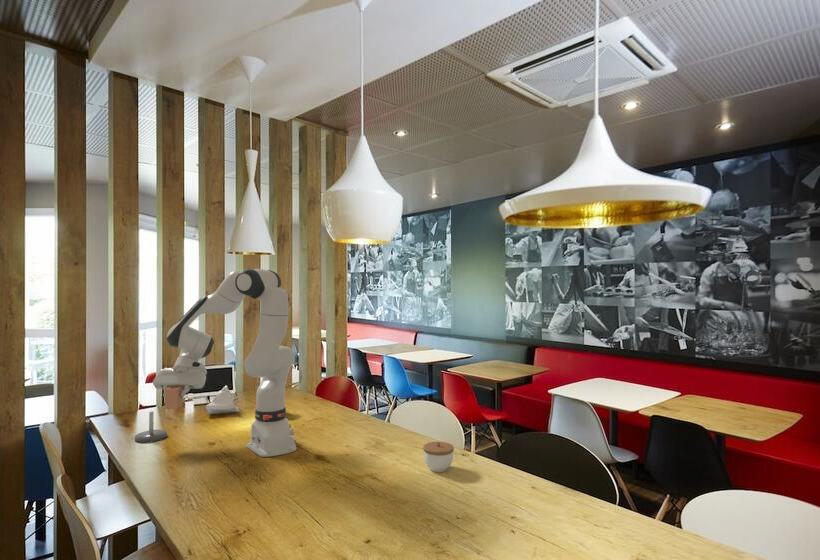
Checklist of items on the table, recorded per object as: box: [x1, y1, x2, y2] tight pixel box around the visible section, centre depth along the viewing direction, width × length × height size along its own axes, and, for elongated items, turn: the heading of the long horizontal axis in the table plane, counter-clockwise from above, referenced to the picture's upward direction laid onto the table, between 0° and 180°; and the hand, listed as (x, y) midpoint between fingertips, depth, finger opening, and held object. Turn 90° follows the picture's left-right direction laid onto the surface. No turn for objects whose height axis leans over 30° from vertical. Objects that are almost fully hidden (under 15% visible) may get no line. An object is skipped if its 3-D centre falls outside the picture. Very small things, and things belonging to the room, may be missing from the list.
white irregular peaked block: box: [205, 385, 240, 415], centre depth 231 cm, size 12×15×14 cm
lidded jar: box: [423, 441, 455, 473], centre depth 160 cm, size 11×11×9 cm
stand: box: [134, 410, 168, 444], centre depth 192 cm, size 12×12×11 cm
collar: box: [164, 386, 184, 410], centre depth 185 cm, size 5×5×8 cm
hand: (173, 396), depth 184 cm, fingers closed on collar, 5 cm apart
